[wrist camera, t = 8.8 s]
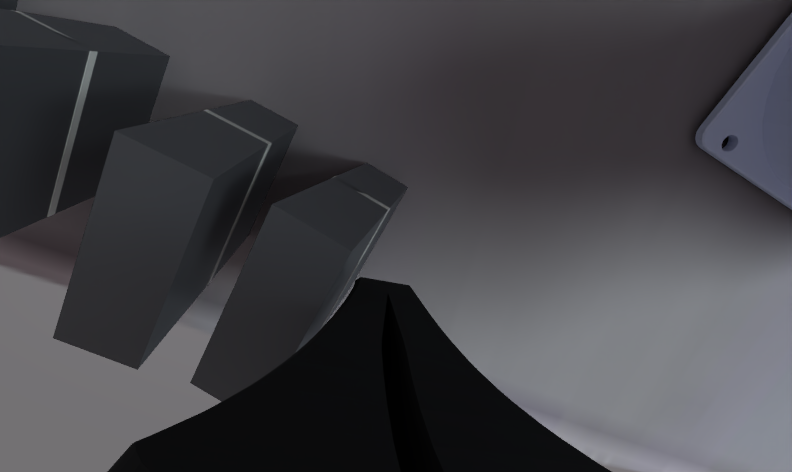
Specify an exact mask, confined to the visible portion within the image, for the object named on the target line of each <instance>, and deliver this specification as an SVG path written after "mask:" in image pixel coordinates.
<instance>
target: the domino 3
mask: <svg viewBox="0 0 792 472" xmlns="http://www.w3.org/2000/svg"><path fill="white" fill-rule="evenodd" d="M407 188H408V187H407V186H405V185H403V184H402V183H400V182H398V181H397V180H395V179H393V178H392V177H390V176H388V175H386V174H385V173H383V172H381V171H380V170H378V169H376V168H375V167H373V166H371V165H370V164H368V163H366V164H363V165H361V166H359V167H356V168H354V169H352V170H349V171H347V172H345V173H343V174H340V175H338V176H334V177H332V178H331V179H329V180H326V181H324V182H322V183H319V184H317V185H315V186H312V187H310V188H308V189H306V190H303V191H301V192H299V193H296V194H294V195H292V196H289V197H287V198H285V199H282V200H280V201H278V202H276V203H273V204H272V205H271V207H270V210H269V212H268V214H267V216H266V218H265V220H264V223H263V225H262V227H261V229H260V231H259V234H258V236H257V238H256V240H255V242H254V245H253V247H252V249H251V251H250V253H249V255H248V258H247V260H246V262H245V264H244V266H243V269H242V271H241V273H240V275H239V277H238V280H237V282H236V284H235V286H234V288H233V290H232V293H231V295H230V297H229V299H228V301H227V304H226V306H225V308H224V310H223V312H222V315H221V317H220V319H219V321H218V323H217V325H216V328H215V330H214V332H213V334H212V336H211V339H210V341H209V343H208V345H207V348H206V350H205V352H204V354H203V356H202V358H201V360H200V363H199V365H198V367H197V369H196V371H195V374H194V376H193V378H192V380H191V382H190V383H192V384H193V385H195V386H197V387H198V388H200V389H202V390H203V391H205V392H207V393H208V394H210V395H212V396H213V397H215V398H217V399H218V400H220V401H224V400H226V399H227V398H229V397H231V396H233V395H234V394H236V393H238V392H240V391H241V390H243V389H245V388H247V387H248V386H250V385H252V384H253V383H255V382H256V381H258V380H259V379H261V378H262V377H264V376H265V375H267V374H268V373H269V372H271V371H272V370H274V369H275V368H276V367H278V366H279V365H280V364H282V363H283V362H284V361H286V360H287V359H288V358H290V357H291V356H292V355H293V354H295V353H296V352H297V351H298V350H299V349H301V348H302V347H303V346H304V345H305V344H306V343H307V342H308V341H309V340H310V339H312V338H313V337H314V336H315V335H316V334H317V333H318V332H319V331H320V329H321V328H322V327H323V326H324V325H325V323H326V322H327V320H328V319H329V318H330V316H331V315H332V313H333V312H334V310H335V309H336V308H337V306H338V305H339V303H340V302H341V300H342V299H343V297H344V296H345V295H346V293H347V292H348V290H349V289H350V287H351V285H352V284H353V282H354V280H355V278H356V277H357V275H358V273H359V271H360V270H361V268H362V266H363V264H364V263H365V261H366V259H367V258H368V256H369V254H370V252H371V251H372V249H373V247H374V245H375V244H376V242H377V240H378V238H379V237H380V235H381V233H382V231H383V230H384V228H385V226H386V224H387V223H388V221H389V219H390V217H391V216H392V214H393V212H394V211H395V209H396V207H397V205H398V204H399V202H400V200H401V198H402V197H403V195H404V193H405V191H406V190H407Z"/></svg>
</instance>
